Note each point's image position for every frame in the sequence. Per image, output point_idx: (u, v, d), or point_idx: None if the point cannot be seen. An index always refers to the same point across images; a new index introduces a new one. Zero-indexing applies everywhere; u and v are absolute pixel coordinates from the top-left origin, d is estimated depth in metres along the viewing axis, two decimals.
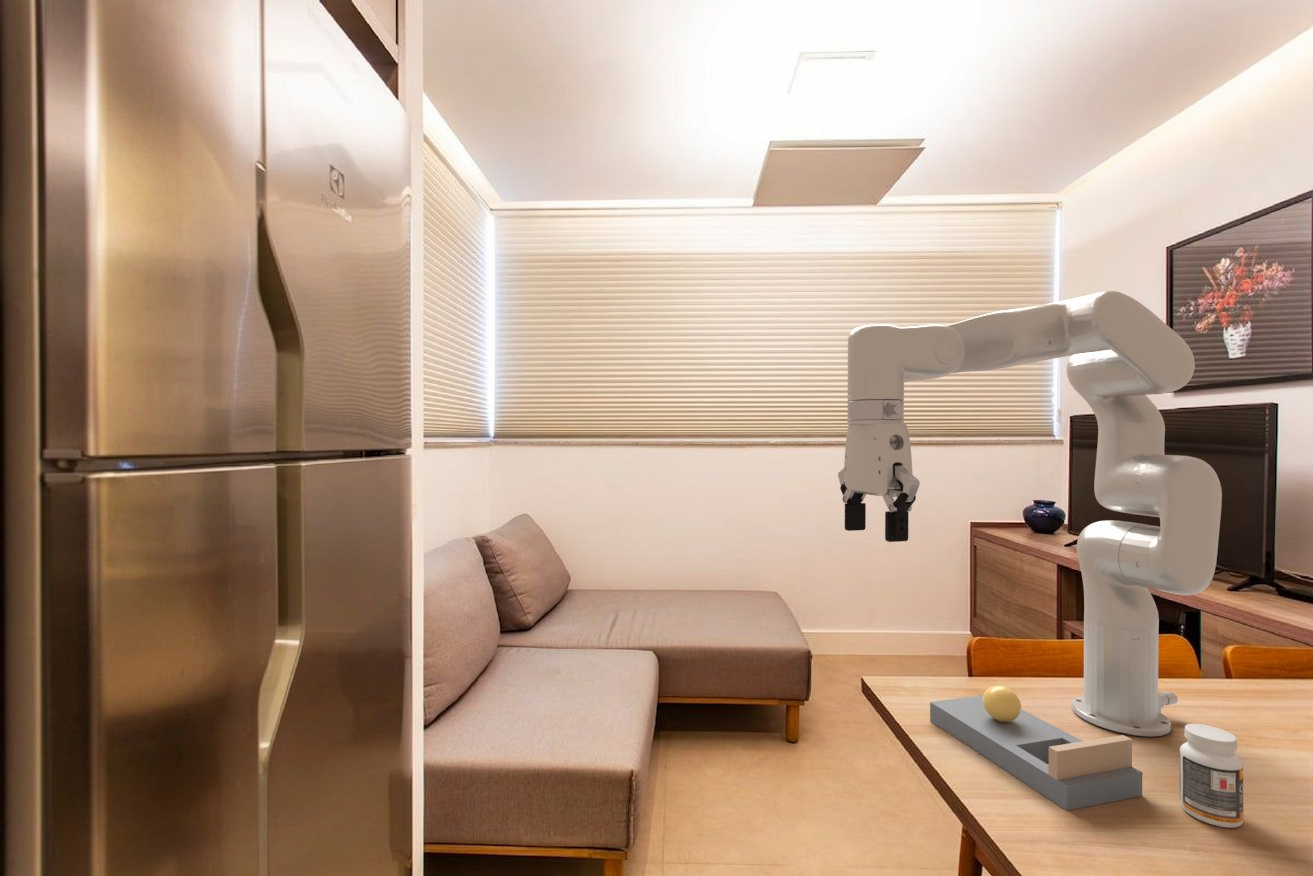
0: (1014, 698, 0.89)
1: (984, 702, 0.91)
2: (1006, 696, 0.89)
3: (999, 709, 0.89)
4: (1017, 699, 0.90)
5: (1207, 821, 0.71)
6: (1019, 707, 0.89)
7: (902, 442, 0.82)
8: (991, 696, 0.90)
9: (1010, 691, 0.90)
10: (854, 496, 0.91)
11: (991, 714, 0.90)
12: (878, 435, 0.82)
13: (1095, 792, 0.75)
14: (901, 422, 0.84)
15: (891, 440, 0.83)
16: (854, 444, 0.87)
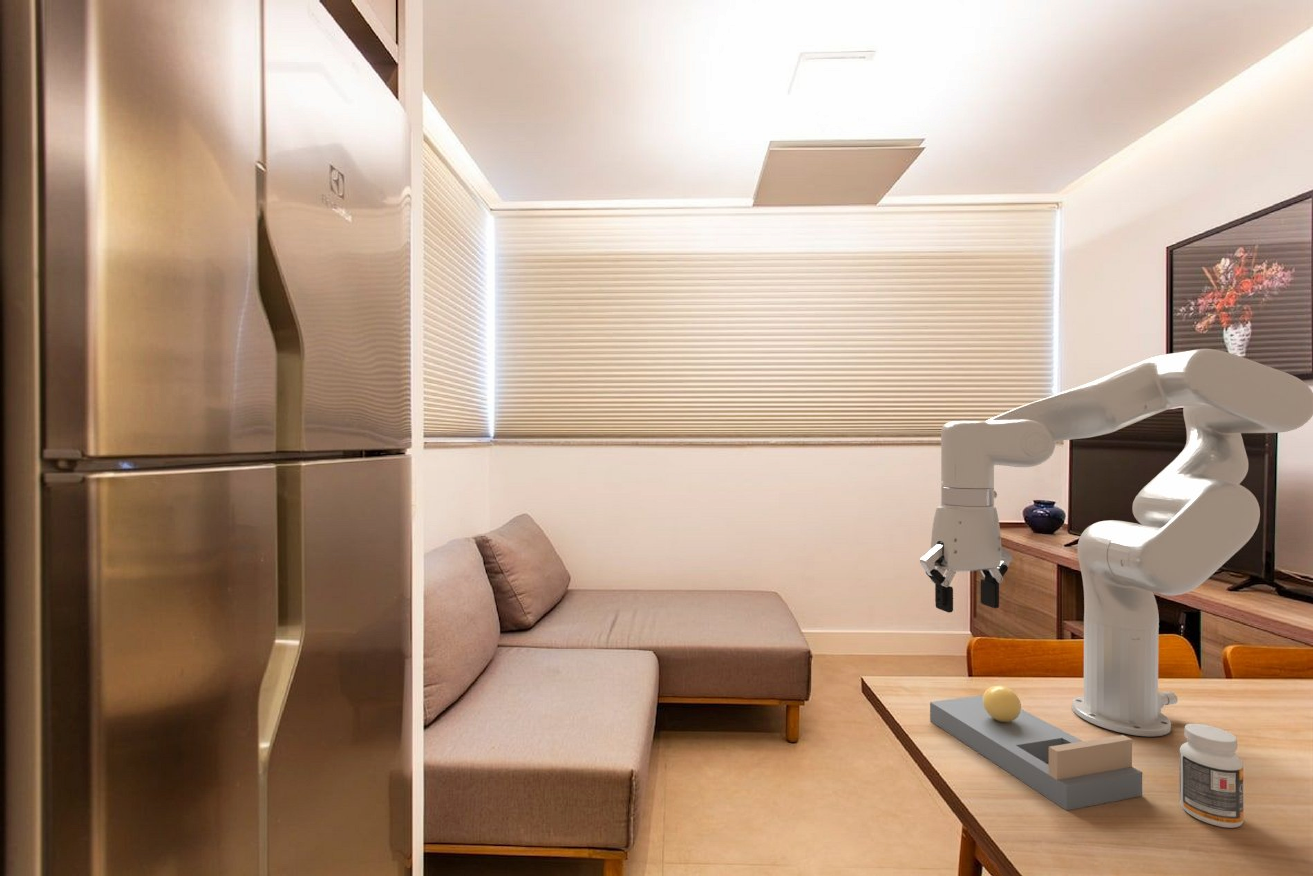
0: (1014, 698, 0.89)
1: (984, 702, 0.91)
2: (1006, 696, 0.89)
3: (999, 709, 0.89)
4: (1017, 699, 0.90)
5: (1207, 821, 0.71)
6: (1019, 707, 0.89)
7: None
8: (991, 696, 0.90)
9: (1010, 691, 0.90)
10: None
11: (991, 714, 0.90)
12: (996, 518, 0.97)
13: (1095, 792, 0.75)
14: None
15: None
16: (971, 528, 0.95)
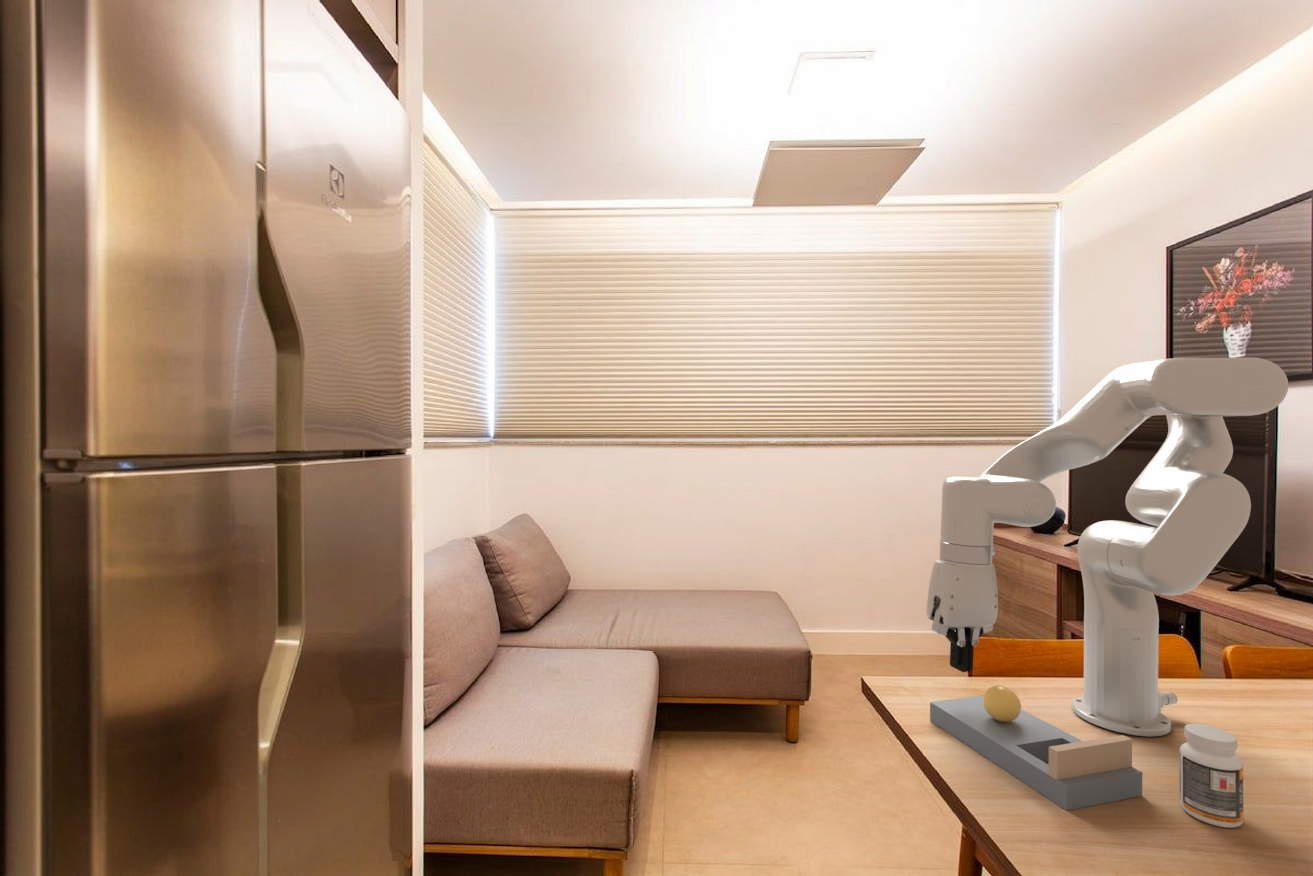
0: (1014, 698, 0.89)
1: (984, 702, 0.91)
2: (1006, 696, 0.89)
3: (999, 709, 0.89)
4: (1017, 699, 0.90)
5: (1207, 821, 0.71)
6: (1019, 707, 0.89)
7: None
8: (991, 696, 0.90)
9: (1010, 691, 0.90)
10: None
11: (991, 714, 0.90)
12: (994, 575, 0.97)
13: (1095, 792, 0.75)
14: None
15: None
16: (969, 585, 0.95)
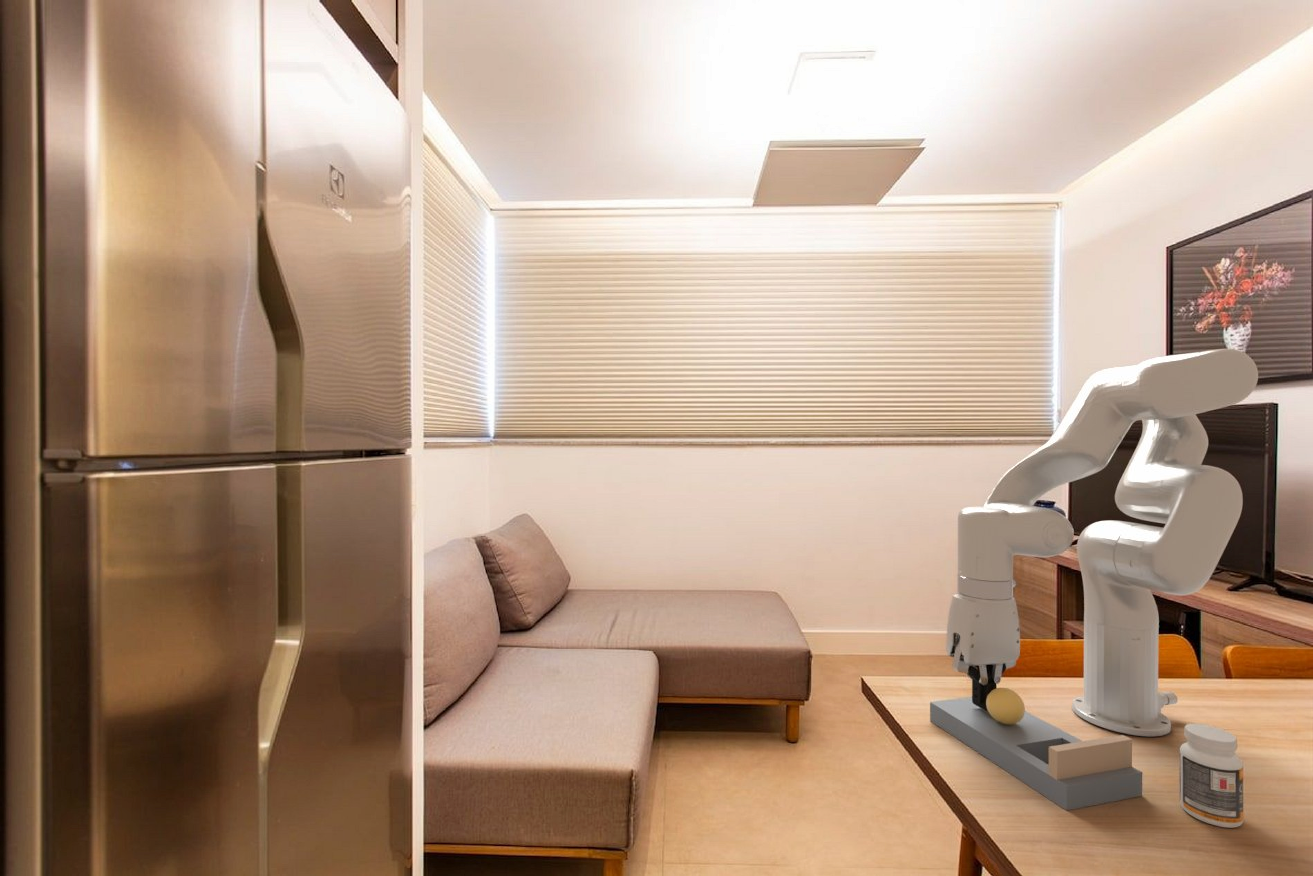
0: (1020, 705, 0.88)
1: (987, 704, 0.90)
2: (1012, 703, 0.88)
3: (1002, 715, 0.88)
4: (1022, 706, 0.88)
5: (1207, 821, 0.71)
6: (1023, 714, 0.88)
7: None
8: (996, 701, 0.89)
9: (1016, 697, 0.89)
10: None
11: (993, 716, 0.90)
12: (1015, 609, 0.93)
13: (1095, 792, 0.75)
14: None
15: None
16: (989, 621, 0.92)
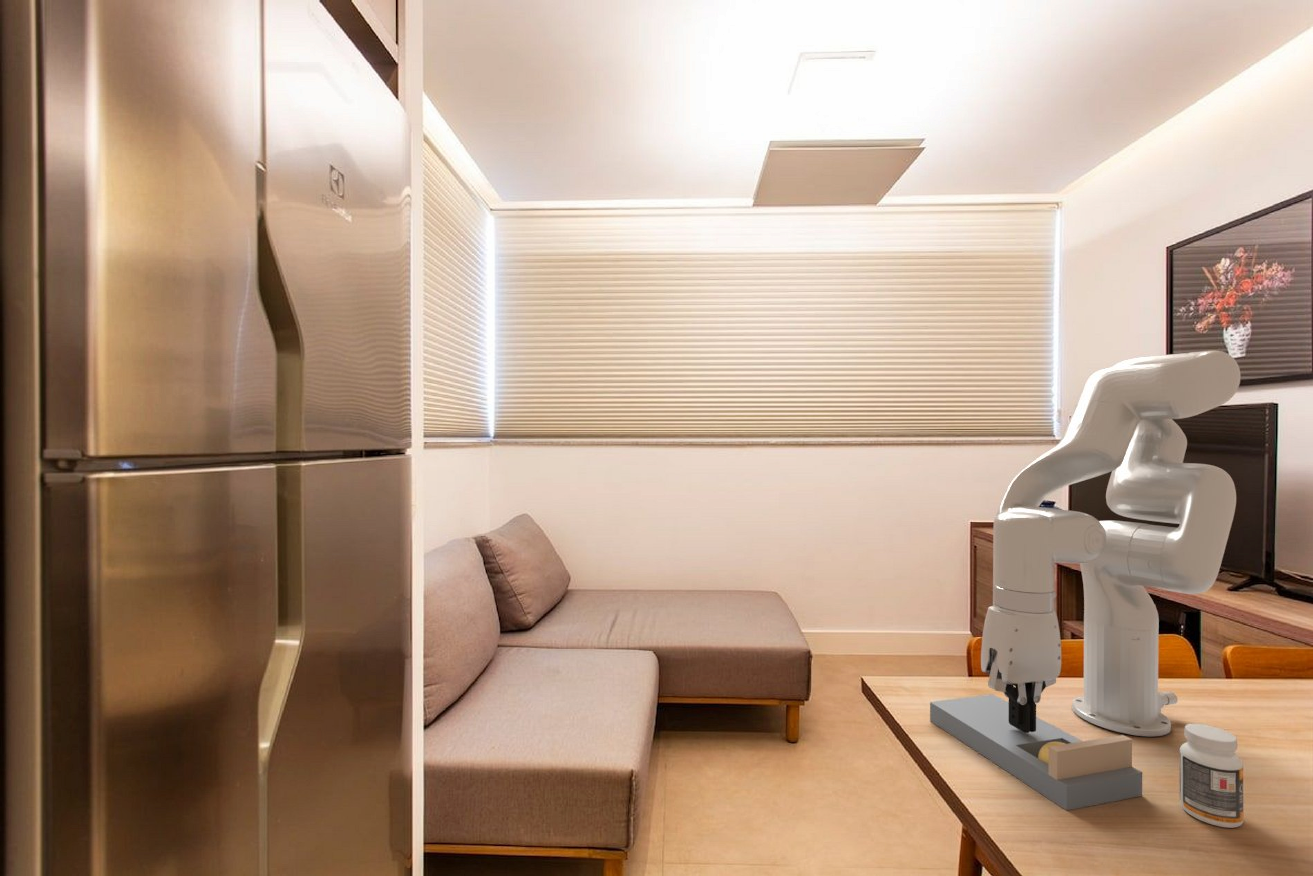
0: None
1: None
2: (1047, 743, 0.82)
3: None
4: None
5: (1207, 821, 0.71)
6: None
7: None
8: (1040, 753, 0.81)
9: None
10: None
11: None
12: (1056, 623, 0.86)
13: (1095, 792, 0.75)
14: None
15: None
16: (1029, 636, 0.85)
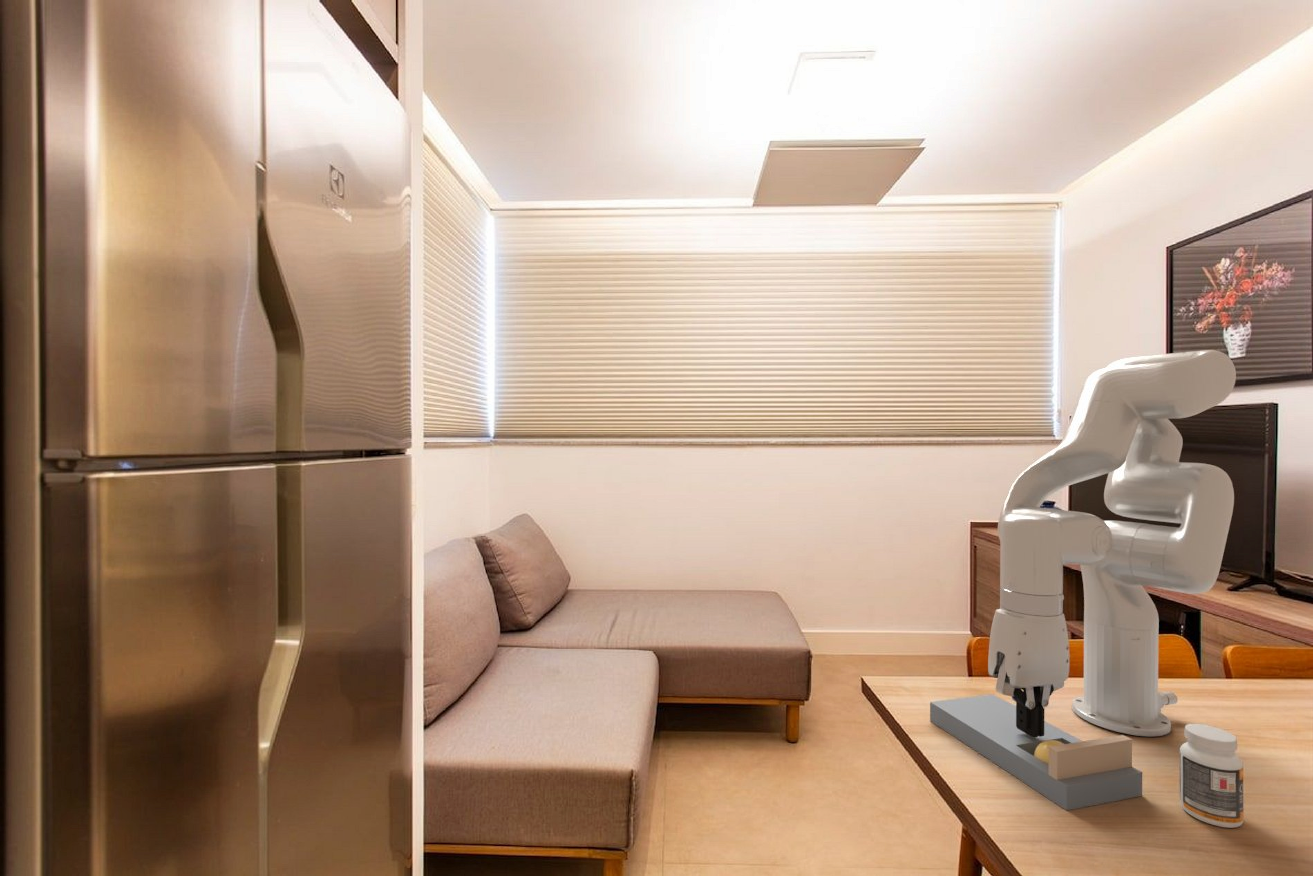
0: None
1: None
2: None
3: (1045, 747, 0.80)
4: None
5: (1207, 821, 0.71)
6: (1061, 742, 0.81)
7: None
8: (1034, 754, 0.81)
9: None
10: None
11: None
12: (1064, 625, 0.85)
13: (1095, 792, 0.75)
14: None
15: None
16: (1038, 639, 0.83)
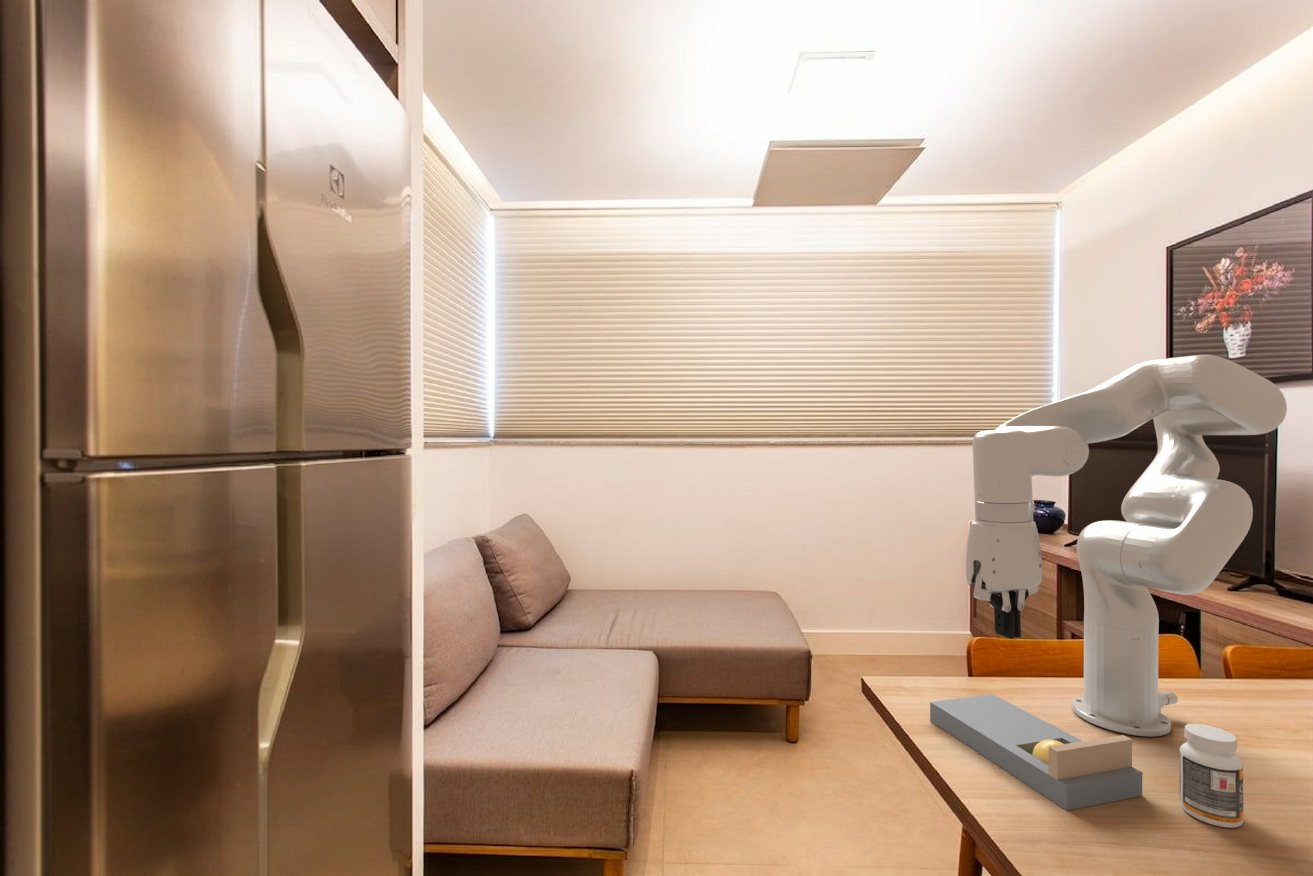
0: None
1: None
2: None
3: (1042, 746, 0.81)
4: None
5: (1207, 821, 0.71)
6: (1057, 741, 0.82)
7: None
8: None
9: None
10: None
11: None
12: (1036, 532, 0.90)
13: (1095, 792, 0.75)
14: None
15: None
16: (1010, 545, 0.88)
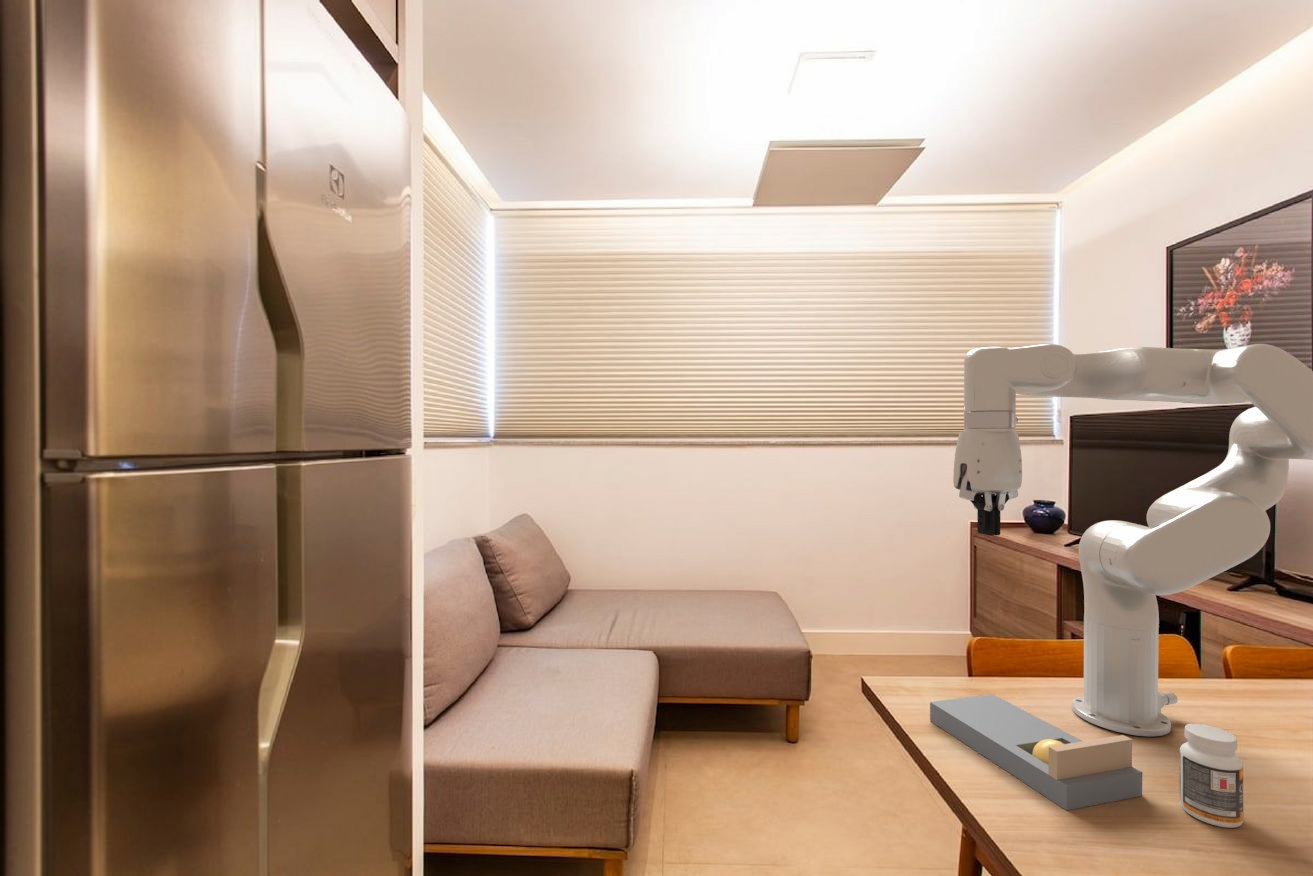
0: None
1: None
2: None
3: (1042, 746, 0.81)
4: None
5: (1207, 821, 0.71)
6: None
7: None
8: (1032, 754, 0.82)
9: None
10: None
11: None
12: (1017, 441, 1.00)
13: (1095, 792, 0.75)
14: None
15: None
16: (994, 449, 0.98)
